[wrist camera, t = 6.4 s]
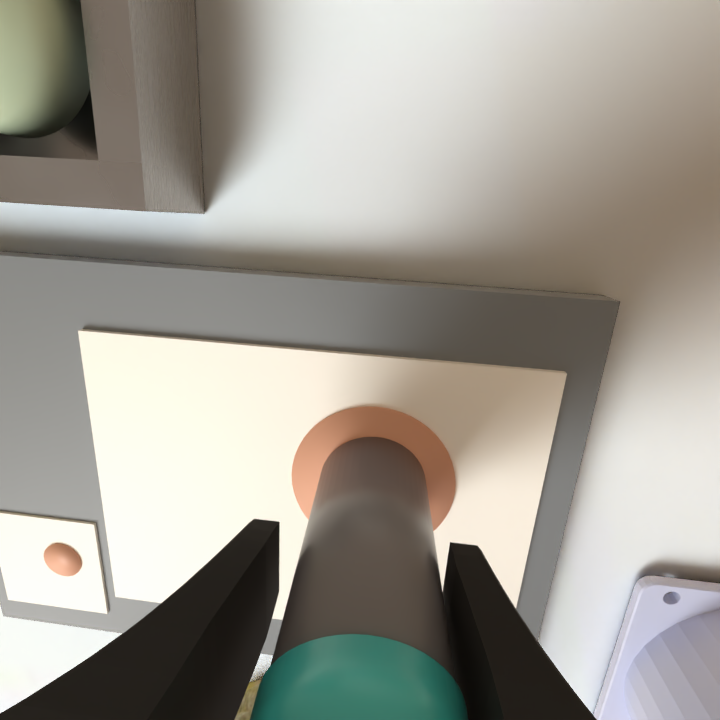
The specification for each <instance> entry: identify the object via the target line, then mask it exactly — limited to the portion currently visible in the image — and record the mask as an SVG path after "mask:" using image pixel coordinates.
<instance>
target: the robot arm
mask: <svg viewBox="0 0 720 720" xmlns="http://www.w3.org/2000/svg"><path fill="white" fill-rule="evenodd" d="M279 534H280V522H278V521H270V520H261V519H253V520H252V521H251V522H249V523H248V524H247V525H246V526H245V527H244V528H243V529H242V530H241V531H240V532H239V533H238V534H237V535H236V536H235V537H234V538H233V539H232V540H231V541H230V542H229V543H228V544H227V545H226V546H225V547H224V548H223V549H221V550H220V551H219V552H218V553H217V554H216V555H215V556H214V557H213V558H212V559H211V560H210V561H209V562H208V563H207V564H205V565H204V566H203V567H202V568H201V569H200V570H199V571H198V572H197V573H196V574H194V575H193V576H192V577H191V578H190V579H189V580H188V581H187V582H186V583H184V584H183V585H182V586H181V587H180V588H179V589H177V590H176V591H175V592H174V593H173V594H171V595H170V596H169V597H168V598H167V599H165V600H164V601H163V602H162V603H161V604H159V605H158V606H157V607H156V608H155V609H153V610H152V611H151V612H150V613H149V614H147V615H146V616H145V617H144V618H142V619H141V620H140V621H138V622H137V623H136V624H135V625H133V626H132V627H131V628H129V629H128V630H127V631H125V632H124V633H123V634H121V635H120V636H119V637H117V638H116V639H115V640H113V641H112V642H110V643H109V644H108V645H106V646H105V647H103V648H102V649H101V650H99V651H98V652H96V653H95V654H94V655H92V656H91V657H89V658H88V659H86V660H85V661H83V662H82V663H80V664H79V665H77V666H76V667H74V668H73V669H71V670H70V671H68V672H67V673H65V674H63V675H62V676H60V677H59V678H57V679H56V680H54V681H52V682H51V683H49V684H48V685H46V686H45V687H43V688H42V689H40V690H38V691H37V692H35V693H34V694H32V695H31V696H29V697H27V698H26V699H24V700H22V701H21V702H19V703H17V704H16V705H14V706H12V707H11V708H9V709H7V710H6V711H4V712H2V713H0V720H235V717H236V715H237V712H238V710H239V707H240V705H241V702H242V700H243V697H244V695H245V692H246V689H247V687H248V684H249V682H250V679H251V677H252V674H253V672H254V669H255V666H256V664H257V661H258V659H259V656H260V653H261V651H262V648H263V646H264V643H265V640H266V638H267V634H268V631H269V627H270V624H271V620H272V617H273V613H274V609H275V605H276V602H277V598H278V594H279ZM668 592H671V593H669V594H666V593H668ZM665 594H666V595H665ZM443 599H444V605H445V612H446V619H447V625H448V632H449V639H450V645H451V652H452V658H453V665H454V672H455V678H456V683H457V684H458V686H459V688H460V690H461V692H462V694H463V696H464V700H465V704H466V708H467V714H468V720H720V584H719V583H711V582H702V581H694V580H686V579H678V578H669V577H661V576H645V577H642V578H641V579H639V580H638V581H637V582H636V584H635V586H634V589H633V592H632V595H631V598H630V602H629V605H628V608H627V611H626V614H625V617H624V620H623V624H622V627H621V630H620V633H619V636H618V639H617V643H616V646H615V649H614V652H613V655H612V658H611V661H610V665H609V668H608V671H607V674H606V677H605V680H604V684H603V687H602V690H601V693H600V696H599V699H598V702H597V706H596V709H595V712H594V715H593V714H592V713H591V712H590V711H589V710H588V708H587V707H586V706H585V705H584V703H583V702H582V701H581V699H580V698H579V697H578V696H577V694H576V693H575V692H574V690H573V689H572V688H571V687H570V685H569V684H568V683H567V681H566V680H565V679H564V677H563V676H562V675H561V673H560V672H559V671H558V669H557V668H556V666H555V665H554V664H553V662H552V661H551V660H550V658H549V657H548V655H547V654H546V653H545V651H544V650H543V648H542V647H541V646H540V644H539V643H538V641H537V640H536V638H535V637H534V635H533V634H532V632H531V631H530V629H529V628H528V626H527V625H526V623H525V622H524V620H523V619H522V617H521V616H520V614H519V613H518V611H517V610H516V608H515V607H514V605H513V603H512V602H511V600H510V599H509V597H508V595H507V594H506V592H505V590H504V589H503V587H502V585H501V584H500V582H499V580H498V579H497V577H496V575H495V574H494V572H493V570H492V568H491V567H490V565H489V563H488V561H487V560H486V558H485V556H484V554H483V552H482V550H481V549H480V548H479V547H478V546H477V545H469V544H461V543H453V542H450V545H449V552H448V559H447V565H446V572H445V579H444V586H443Z"/></svg>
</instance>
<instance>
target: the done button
mask: <svg viewBox="0 0 720 720" xmlns="http://www.w3.org/2000/svg"><path fill="white" fill-rule="evenodd" d="M89 90H90V81H89V72H88V63H87V54H86V45H85V36H84V28H83V19H82V10H81V1H80V0H0V134H5V135H9V136H14V137H20V138H38V137H44V136H47V135H50V134H53V133H55V132H57V131H59V130H60V129H62V128H64V127H65V126H66V125H67V124H68V123H70V122H71V121H72V120H73V118H74V117H75V116H76V115H77V114H78V112H79V111H80V109H81V108H82V106H83V105H84V102H85V100H86V98H87V96H88V93H89Z"/></svg>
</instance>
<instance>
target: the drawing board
mask: <svg viewBox="0 0 720 720" xmlns="http://www.w3.org/2000/svg"><path fill="white" fill-rule="evenodd" d="M619 305H620V301H617V300H614V299H612V298H609V297H606V296H604V295H590V294H577V293H563V292H550V291H536V290H522V289H509V288H495V287H482V286H468V285H454V284H441V283H427V282H414V281H400V280H387V279H373V278H359V277H346V276H332V275H319V274H305V273H292V272H278V271H264V270H251V269H237V268H224V267H210V266H197V265H183V264H169V263H156V262H142V261H129V260H115V259H102V258H88V257H74V256H61V255H47V254H34V253H20V252H7V251H0V605H1V609H2V613H3V616H6V617H13V618H20V619H27V620H34V621H41V622H48V623H55V624H62V625H68V626H75V627H82V628H89V629H96V630H103V631H110V632H117V633H124V632H125V631H127V630H128V629H129V628H131V627H132V626H133V625H135V624H136V623H137V622H138V621H140V620H141V619H142V618H144V617H145V616H146V615H147V614H149V613H150V612H151V611H152V610H153V609H155V608H156V607H157V606H158V605H159V604H161V603H162V602H163V601H164V600H165V599H167V598H168V597H169V596H170V595H171V594H173V593H174V592H175V591H176V590H177V589H179V588H180V587H181V586H182V585H183V584H184V583H186V582H187V581H188V580H189V579H190V578H191V577H192V576H193V575H194V574H196V573H197V572H198V571H199V570H200V569H201V568H202V567H203V566H204V565H205V564H207V563H208V562H209V561H210V560H211V559H212V558H213V557H214V556H215V555H216V554H217V553H218V552H219V551H220V550H221V549H223V548H224V547H225V546H226V545H227V544H228V543H229V542H230V541H231V540H232V539H233V538H234V537H235V536H236V535H237V534H238V533H239V532H240V531H241V530H242V529H243V528H244V527H245V526H246V525H247V524H248V523H249V522H251V521H252V520H253V519H261V520H270V521H278V522H280V534H279V594H278V598H277V602H276V605H275V609H274V613H273V617H272V620H271V624H270V627H269V631H268V634H267V638H266V640H265V643H264V646H263V648H262V651H261V653H262V654H268V655H273V654H274V651H275V647H276V643H277V639H278V635H279V631H280V628H281V624H282V620H283V616H284V612H285V608H286V605H287V601H288V597H289V593H290V589H291V586H292V582H293V578H294V574H295V570H296V566H297V563H298V559H299V555H300V551H301V547H302V543H303V540H304V536H305V532H306V528H307V524H308V520H309V517H310V513H311V509H312V505H313V501H314V498H315V494H316V490H317V486H318V482H319V478H320V475H321V471H322V467H323V465H324V463H325V461H326V460H327V458H328V457H329V455H330V454H331V453H332V452H333V451H334V450H335V449H336V448H338V447H339V446H341V445H342V444H344V443H346V442H348V441H351V440H354V439H357V438H362V437H381V438H386V439H389V440H392V441H395V442H397V443H399V444H401V445H403V446H404V447H406V448H407V449H408V450H410V451H411V452H412V453H413V454H414V455H415V457H416V458H417V459H418V461H419V462H420V464H421V466H422V468H423V471H424V474H425V479H426V486H427V492H428V499H429V506H430V512H431V519H432V526H433V532H434V539H435V546H436V552H437V559H438V565H439V572H440V579H441V585H442V592H443V586H444V579H445V572H446V565H447V559H448V552H449V545H450V542H453V543H461V544H469V545H477V546H478V547H479V548H480V549H481V550H482V552H483V554H484V556H485V558H486V560H487V561H488V563H489V565H490V567H491V568H492V570H493V572H494V574H495V575H496V577H497V579H498V580H499V582H500V584H501V585H502V587H503V589H504V590H505V592H506V594H507V595H508V597H509V599H510V600H511V602H512V603H513V605H514V607H515V608H516V610H517V611H518V613H519V614H520V616H521V617H522V619H523V620H524V622H525V623H526V625H527V626H528V628H529V629H530V631H531V632H532V634H533V635H534V637H535V638H536V640H537V641H538V637H539V633H540V629H541V625H542V621H543V616H544V612H545V608H546V604H547V600H548V596H549V592H550V588H551V584H552V580H553V575H554V571H555V567H556V563H557V559H558V555H559V551H560V547H561V543H562V539H563V534H564V530H565V526H566V522H567V518H568V514H569V510H570V506H571V502H572V497H573V493H574V489H575V485H576V481H577V477H578V473H579V469H580V465H581V461H582V456H583V452H584V448H585V444H586V440H587V436H588V432H589V428H590V424H591V419H592V415H593V411H594V407H595V403H596V399H597V395H598V391H599V387H600V383H601V378H602V374H603V370H604V366H605V362H606V358H607V354H608V350H609V346H610V341H611V337H612V333H613V329H614V325H615V321H616V317H617V313H618V309H619Z"/></svg>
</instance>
